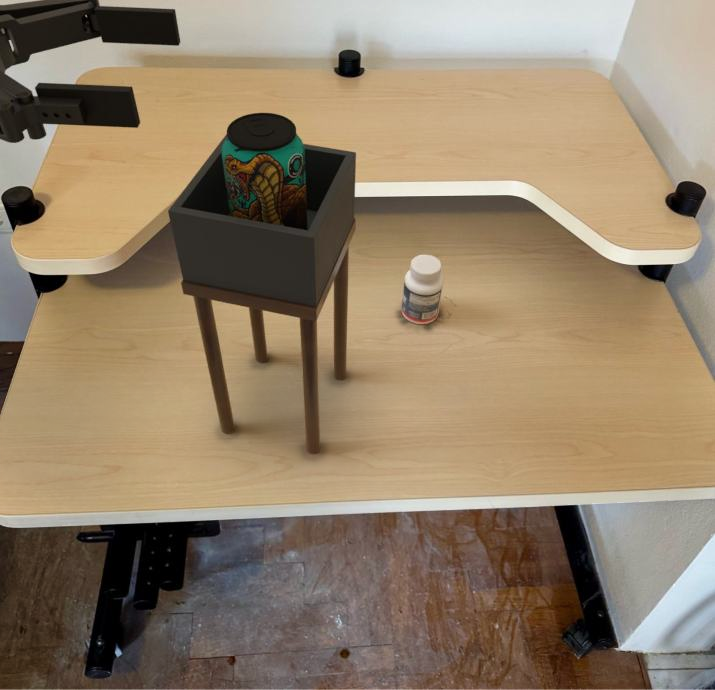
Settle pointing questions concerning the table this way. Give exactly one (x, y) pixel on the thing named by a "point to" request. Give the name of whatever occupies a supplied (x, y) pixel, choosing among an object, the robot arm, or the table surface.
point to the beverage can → (265, 170)
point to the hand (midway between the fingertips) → (158, 64)
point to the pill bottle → (422, 290)
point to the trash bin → (266, 232)
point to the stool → (256, 308)
